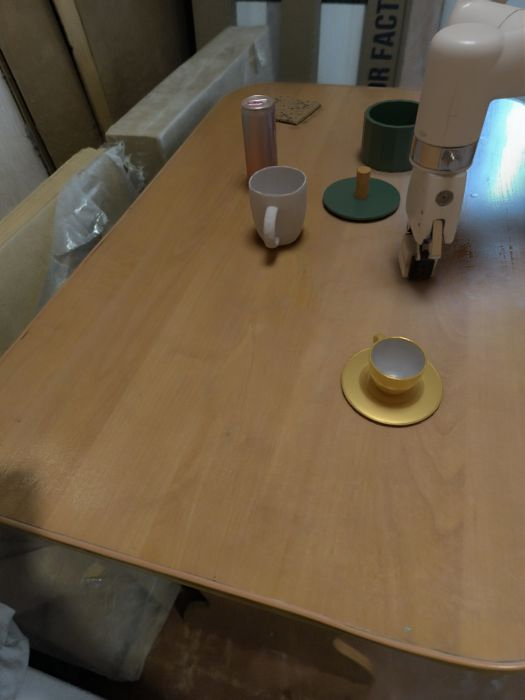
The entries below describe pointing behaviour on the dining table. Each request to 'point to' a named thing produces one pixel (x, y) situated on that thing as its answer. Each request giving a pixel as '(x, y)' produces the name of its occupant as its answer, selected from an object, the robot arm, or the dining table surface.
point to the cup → (392, 381)
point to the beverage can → (259, 133)
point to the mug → (278, 204)
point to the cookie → (293, 109)
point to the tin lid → (361, 197)
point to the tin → (389, 135)
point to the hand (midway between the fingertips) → (415, 265)
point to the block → (409, 253)
